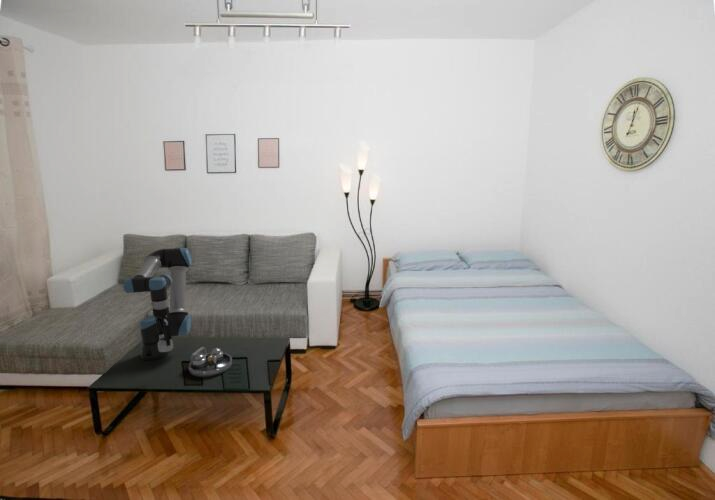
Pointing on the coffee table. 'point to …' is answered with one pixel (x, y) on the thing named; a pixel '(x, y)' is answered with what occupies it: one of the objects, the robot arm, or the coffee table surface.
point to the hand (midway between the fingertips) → (165, 348)
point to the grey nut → (163, 345)
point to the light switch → (199, 351)
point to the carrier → (210, 363)
